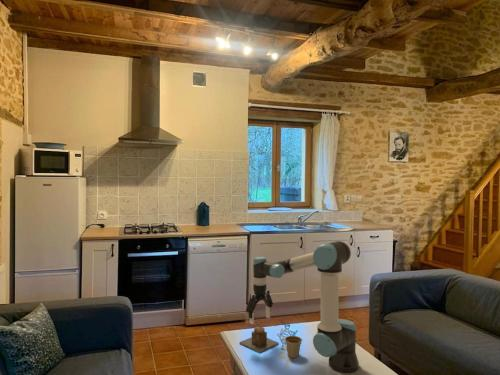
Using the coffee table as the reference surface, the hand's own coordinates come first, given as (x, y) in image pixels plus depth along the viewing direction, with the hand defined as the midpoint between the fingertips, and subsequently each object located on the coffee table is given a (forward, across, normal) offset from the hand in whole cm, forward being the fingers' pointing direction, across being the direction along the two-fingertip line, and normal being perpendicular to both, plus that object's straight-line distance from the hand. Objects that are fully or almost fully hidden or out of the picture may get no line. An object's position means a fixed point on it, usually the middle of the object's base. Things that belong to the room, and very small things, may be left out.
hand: (260, 320), depth 213 cm
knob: (+13, 0, -1) cm, 13 cm away
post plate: (+14, 0, -1) cm, 14 cm away
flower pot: (+14, -4, +21) cm, 26 cm away
